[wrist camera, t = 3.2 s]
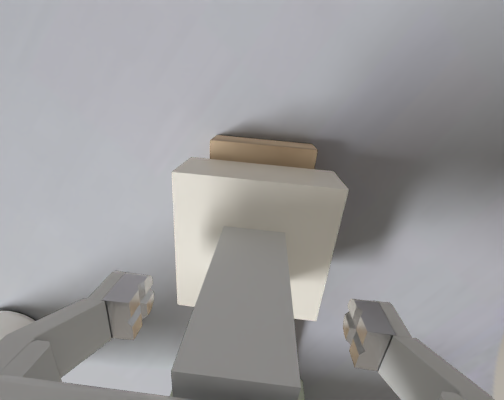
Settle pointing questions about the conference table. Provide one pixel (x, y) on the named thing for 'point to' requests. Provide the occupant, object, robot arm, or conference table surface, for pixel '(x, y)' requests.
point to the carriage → (249, 273)
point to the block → (263, 151)
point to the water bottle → (12, 322)
